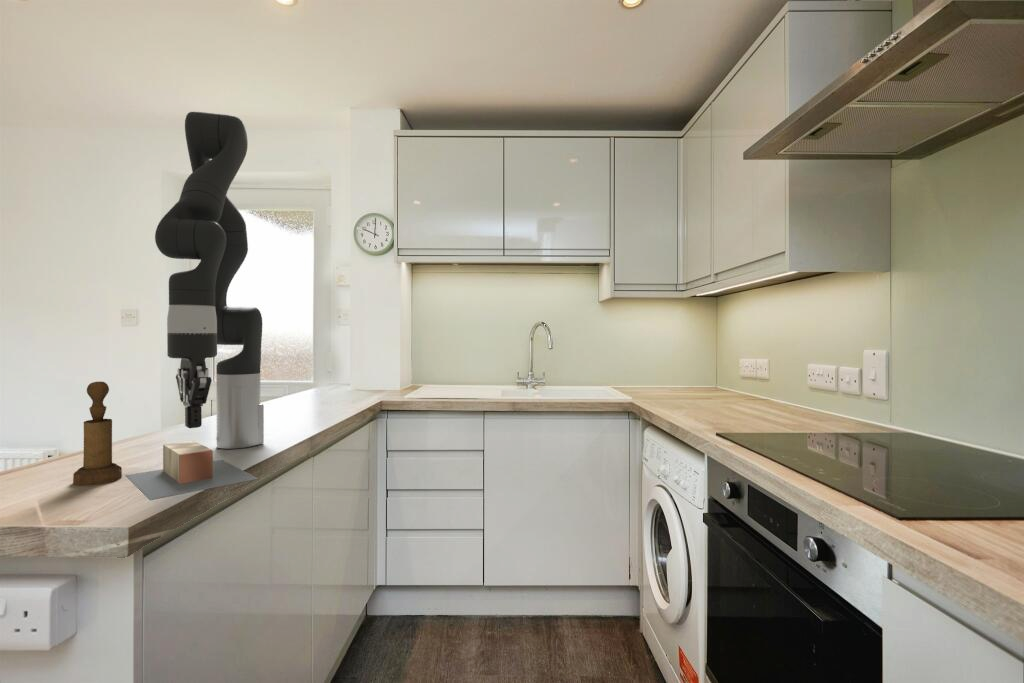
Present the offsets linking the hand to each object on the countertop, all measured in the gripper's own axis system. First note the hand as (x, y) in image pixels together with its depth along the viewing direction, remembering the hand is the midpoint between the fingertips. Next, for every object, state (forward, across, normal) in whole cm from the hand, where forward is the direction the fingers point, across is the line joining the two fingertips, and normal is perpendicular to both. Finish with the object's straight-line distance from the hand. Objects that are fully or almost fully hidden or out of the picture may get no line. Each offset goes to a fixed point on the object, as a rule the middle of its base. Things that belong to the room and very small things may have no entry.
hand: (193, 427), depth 89 cm
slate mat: (+10, +1, 0) cm, 10 cm away
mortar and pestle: (+10, +10, +12) cm, 19 cm away
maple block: (+7, -3, 0) cm, 7 cm away
